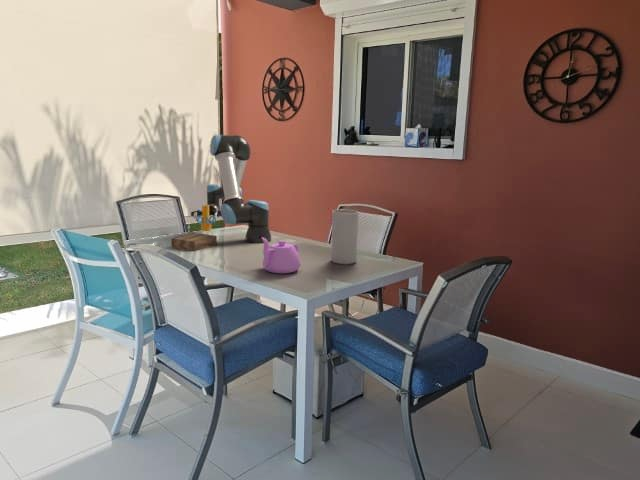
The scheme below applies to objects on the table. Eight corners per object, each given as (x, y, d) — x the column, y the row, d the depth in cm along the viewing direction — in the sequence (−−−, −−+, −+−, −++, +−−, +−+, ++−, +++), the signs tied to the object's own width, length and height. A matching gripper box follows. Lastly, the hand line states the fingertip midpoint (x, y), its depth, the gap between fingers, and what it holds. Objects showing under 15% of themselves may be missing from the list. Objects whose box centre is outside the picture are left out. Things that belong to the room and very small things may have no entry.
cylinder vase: (360, 260, 244) (362, 211, 239) (349, 266, 233) (351, 214, 228) (338, 257, 250) (340, 208, 245) (326, 262, 240) (327, 211, 234)
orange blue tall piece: (219, 229, 294) (218, 204, 291) (213, 232, 284) (213, 206, 281) (199, 228, 295) (198, 203, 292) (193, 231, 285) (192, 206, 282)
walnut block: (216, 244, 272) (216, 235, 271) (194, 250, 257) (194, 241, 256) (194, 241, 279) (194, 232, 278) (171, 247, 264) (171, 238, 263)
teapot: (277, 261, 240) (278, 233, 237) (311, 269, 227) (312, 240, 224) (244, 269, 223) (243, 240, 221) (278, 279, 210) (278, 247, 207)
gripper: (230, 217, 307) (225, 222, 286) (191, 216, 306) (184, 222, 284) (229, 205, 305) (225, 209, 284) (191, 204, 304) (183, 209, 283)
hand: (204, 216), depth 284 cm, fingers closed on orange blue tall piece, 11 cm apart
